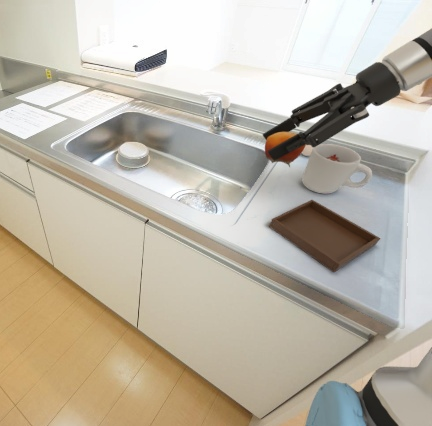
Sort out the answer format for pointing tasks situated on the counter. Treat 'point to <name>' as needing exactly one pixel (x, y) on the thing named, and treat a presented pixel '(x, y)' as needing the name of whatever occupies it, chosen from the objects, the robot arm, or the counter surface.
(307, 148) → the egg
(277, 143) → the fruit
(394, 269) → the counter surface
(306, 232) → the tray
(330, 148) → the cup
